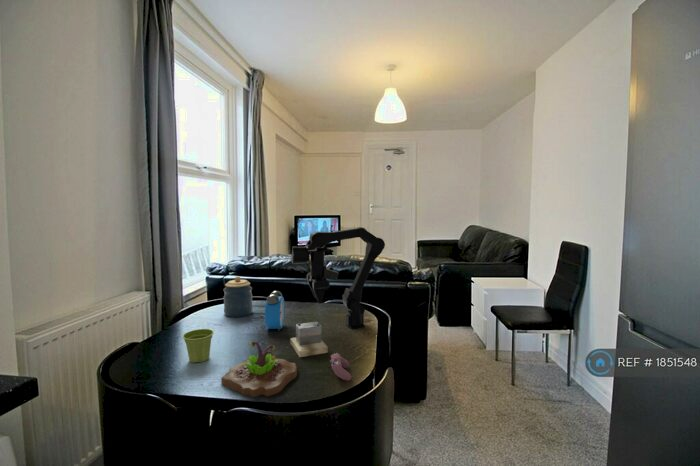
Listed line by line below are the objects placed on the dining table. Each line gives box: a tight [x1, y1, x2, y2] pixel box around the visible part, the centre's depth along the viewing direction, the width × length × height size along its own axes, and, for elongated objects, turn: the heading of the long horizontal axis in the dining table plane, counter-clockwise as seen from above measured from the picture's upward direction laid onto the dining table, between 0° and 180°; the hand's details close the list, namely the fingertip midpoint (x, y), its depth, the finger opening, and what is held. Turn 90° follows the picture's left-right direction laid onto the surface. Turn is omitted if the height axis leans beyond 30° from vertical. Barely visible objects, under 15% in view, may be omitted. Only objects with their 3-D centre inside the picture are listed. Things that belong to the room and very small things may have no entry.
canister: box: [223, 276, 253, 318], centre depth 167 cm, size 13×13×18 cm
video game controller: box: [329, 352, 352, 382], centre depth 107 cm, size 10×5×7 cm, turn 5°
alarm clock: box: [264, 290, 286, 332], centre depth 147 cm, size 13×6×15 cm, turn 1°
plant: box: [220, 341, 298, 398], centre depth 105 cm, size 20×20×11 cm
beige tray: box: [289, 336, 329, 358], centre depth 127 cm, size 10×13×2 cm
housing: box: [295, 321, 323, 346], centre depth 127 cm, size 5×8×7 cm, turn 113°
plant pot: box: [182, 328, 215, 364], centre depth 117 cm, size 9×9×9 cm
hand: (317, 300), depth 145 cm, fingers open, 9 cm apart
